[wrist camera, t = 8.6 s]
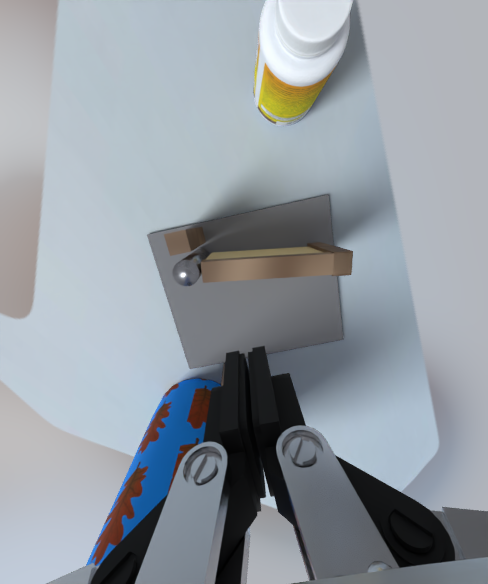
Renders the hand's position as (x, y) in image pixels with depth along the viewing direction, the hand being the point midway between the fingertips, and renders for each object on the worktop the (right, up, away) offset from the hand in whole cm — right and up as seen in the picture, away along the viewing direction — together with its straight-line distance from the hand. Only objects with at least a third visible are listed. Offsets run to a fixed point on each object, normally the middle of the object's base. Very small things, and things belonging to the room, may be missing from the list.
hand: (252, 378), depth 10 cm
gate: (+1, +8, +15) cm, 17 cm away
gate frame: (+1, +4, +17) cm, 18 cm away
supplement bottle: (+3, +22, +12) cm, 25 cm away
